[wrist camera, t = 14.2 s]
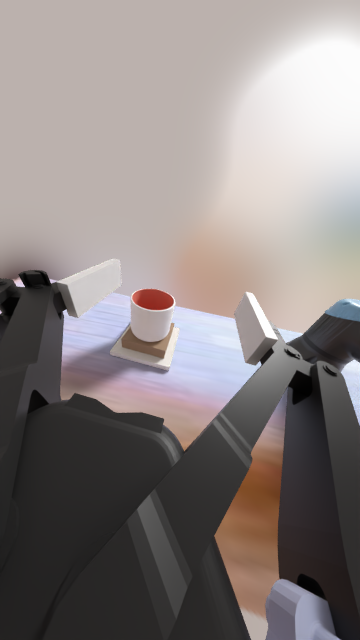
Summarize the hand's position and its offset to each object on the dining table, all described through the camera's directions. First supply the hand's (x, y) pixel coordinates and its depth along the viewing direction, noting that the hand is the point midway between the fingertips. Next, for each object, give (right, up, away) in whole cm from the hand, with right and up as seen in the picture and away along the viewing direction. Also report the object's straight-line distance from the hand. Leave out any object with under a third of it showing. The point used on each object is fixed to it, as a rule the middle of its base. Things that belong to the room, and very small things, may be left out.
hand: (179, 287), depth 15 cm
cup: (-8, -6, +23) cm, 25 cm away
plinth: (-9, -10, +26) cm, 29 cm away
